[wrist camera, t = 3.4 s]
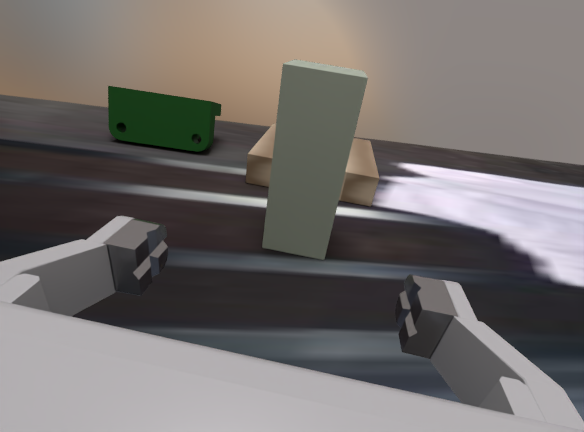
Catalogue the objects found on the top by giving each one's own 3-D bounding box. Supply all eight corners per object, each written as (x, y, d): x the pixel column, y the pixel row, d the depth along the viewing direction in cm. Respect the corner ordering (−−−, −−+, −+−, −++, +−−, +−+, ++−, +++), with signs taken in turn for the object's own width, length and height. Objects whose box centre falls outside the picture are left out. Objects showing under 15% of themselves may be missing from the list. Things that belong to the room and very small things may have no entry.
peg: (262, 247, 23) (283, 63, 17) (274, 217, 27) (294, 59, 21) (324, 260, 22) (367, 78, 16) (327, 227, 26) (363, 70, 20)
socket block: (245, 182, 32) (247, 153, 30) (271, 146, 42) (273, 123, 41) (370, 206, 31) (379, 178, 29) (364, 163, 42) (370, 140, 40)
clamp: (203, 173, 43) (235, 112, 40) (188, 180, 37) (225, 110, 35) (120, 124, 41) (149, 58, 39) (91, 124, 35) (124, 47, 33)
